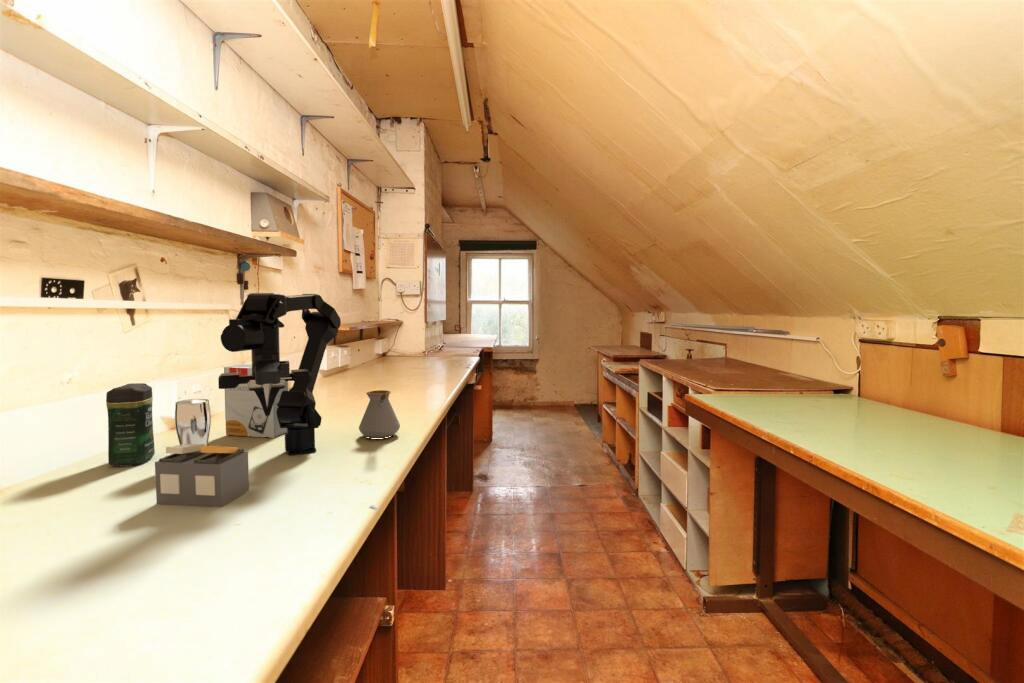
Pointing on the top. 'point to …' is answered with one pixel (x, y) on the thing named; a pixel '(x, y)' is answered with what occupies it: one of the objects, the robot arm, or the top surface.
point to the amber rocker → (218, 449)
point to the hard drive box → (250, 409)
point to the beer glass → (193, 421)
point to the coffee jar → (130, 424)
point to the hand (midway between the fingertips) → (267, 415)
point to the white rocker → (184, 448)
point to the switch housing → (201, 478)
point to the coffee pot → (379, 416)
